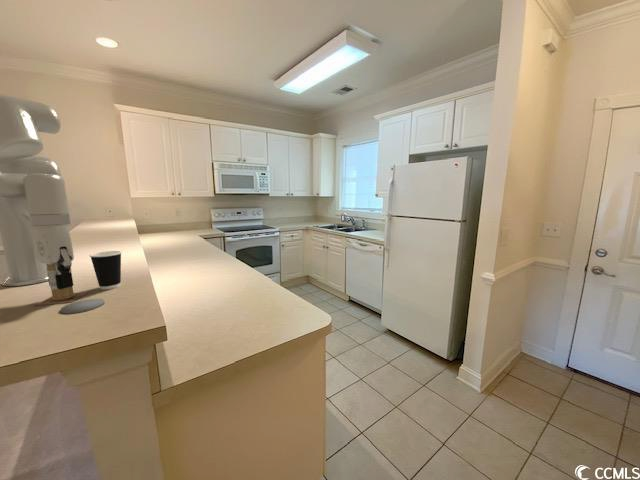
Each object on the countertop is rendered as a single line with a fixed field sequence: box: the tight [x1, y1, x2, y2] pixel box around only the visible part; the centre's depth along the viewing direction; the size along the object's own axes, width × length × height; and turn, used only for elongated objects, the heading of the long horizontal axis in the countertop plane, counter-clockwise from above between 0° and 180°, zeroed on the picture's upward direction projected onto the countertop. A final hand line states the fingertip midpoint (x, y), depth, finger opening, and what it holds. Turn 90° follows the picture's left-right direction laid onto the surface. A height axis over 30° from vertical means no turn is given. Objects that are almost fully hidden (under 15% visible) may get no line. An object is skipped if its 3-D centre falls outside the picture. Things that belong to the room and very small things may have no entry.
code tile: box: [34, 291, 89, 307], centre depth 73 cm, size 8×8×1 cm
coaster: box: [60, 298, 105, 315], centre depth 68 cm, size 8×8×1 cm
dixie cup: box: [89, 250, 123, 290], centre depth 82 cm, size 8×8×11 cm
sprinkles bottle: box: [47, 260, 75, 301], centre depth 72 cm, size 5×5×14 cm
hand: (61, 285), depth 73 cm, fingers closed on sprinkles bottle, 4 cm apart
